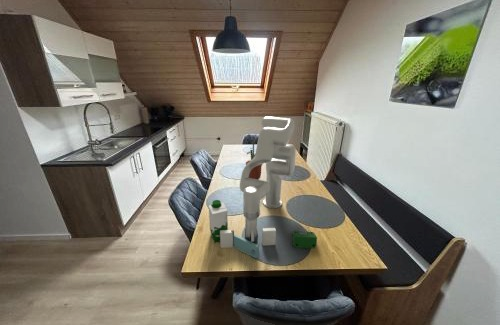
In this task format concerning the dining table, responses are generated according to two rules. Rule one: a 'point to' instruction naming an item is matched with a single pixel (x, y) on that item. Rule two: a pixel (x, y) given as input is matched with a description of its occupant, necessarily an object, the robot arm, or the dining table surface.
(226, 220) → the milk carton
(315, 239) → the clamp
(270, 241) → the white rectangular block
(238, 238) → the door
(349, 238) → the dining table surface
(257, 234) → the gray rectangular block
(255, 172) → the potted plant
